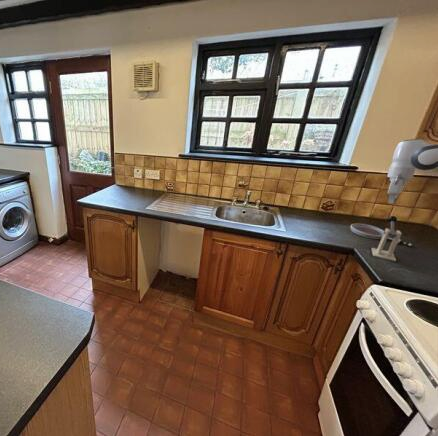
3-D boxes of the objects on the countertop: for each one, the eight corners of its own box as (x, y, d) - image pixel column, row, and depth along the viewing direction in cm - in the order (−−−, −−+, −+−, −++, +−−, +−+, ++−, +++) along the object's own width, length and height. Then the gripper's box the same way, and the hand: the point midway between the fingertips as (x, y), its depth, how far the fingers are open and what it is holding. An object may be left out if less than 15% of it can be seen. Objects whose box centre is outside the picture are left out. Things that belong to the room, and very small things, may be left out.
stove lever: (386, 218, 126) (389, 213, 124) (395, 220, 124) (398, 215, 122) (385, 237, 118) (388, 232, 116) (395, 239, 117) (398, 234, 114)
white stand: (371, 249, 127) (381, 225, 122) (391, 254, 123) (402, 229, 118) (373, 257, 120) (384, 232, 115) (395, 262, 116) (407, 236, 110)
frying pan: (410, 247, 126) (346, 226, 146) (407, 252, 127) (344, 231, 148) (416, 238, 135) (356, 220, 156) (414, 243, 137) (354, 224, 157)
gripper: (407, 175, 108) (398, 205, 112) (411, 174, 121) (402, 201, 125) (388, 174, 113) (380, 203, 117) (393, 172, 126) (386, 199, 130)
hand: (391, 202), depth 121 cm, fingers open, 8 cm apart
